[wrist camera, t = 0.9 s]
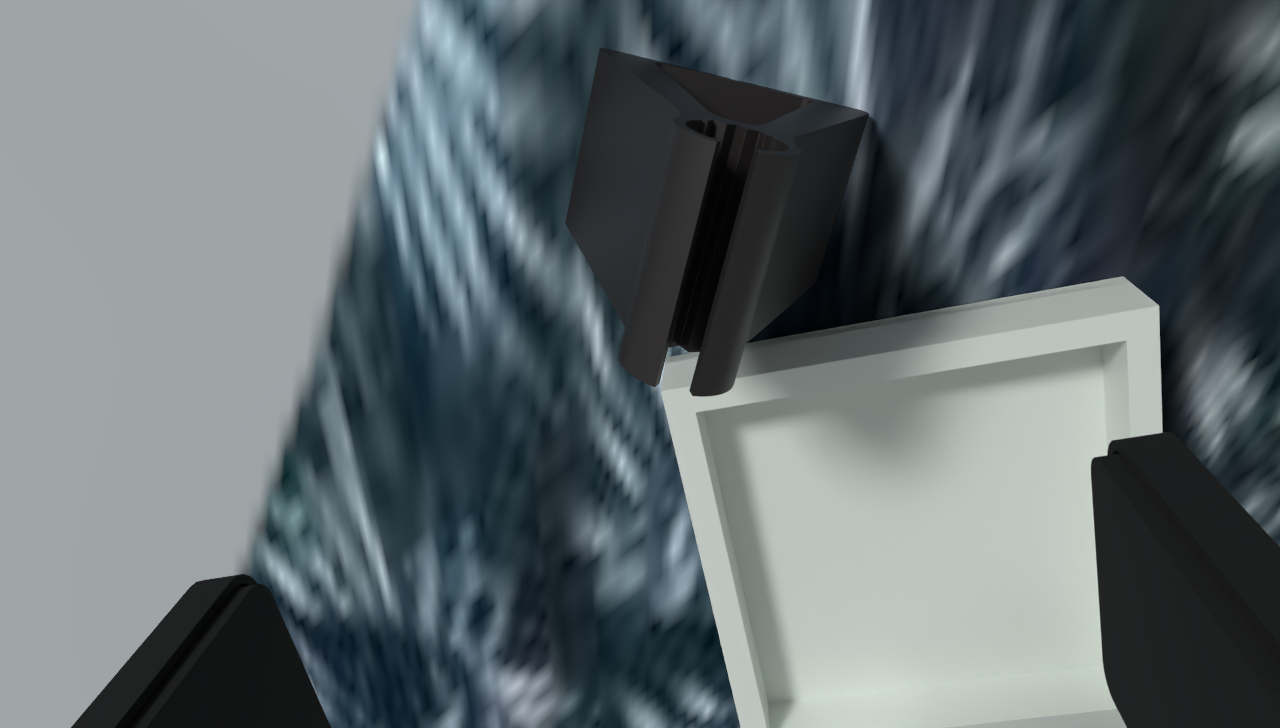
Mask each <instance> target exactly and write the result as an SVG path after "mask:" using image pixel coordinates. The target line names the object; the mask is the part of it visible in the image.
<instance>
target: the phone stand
mask: <svg viewBox="0 0 1280 728" xmlns="http://www.w3.org/2000/svg"><path fill="white" fill-rule="evenodd" d="M868 115H869V113H867V112H865V111H862V110H858V109H854V108H850V107H846V106H841V105H837V104H833V103H829V102H825V101H821V100H817V99H813V98H808V97H804V96H800V95H796V94H792V93H788V92H784V91H779V90H775V89H771V88H767V87H763V86H759V85H755V84H751V83H746V82H742V81H735V80H732V79H729V78H726V77H722V76H718V75H713V74H709V73H705V72H701V71H697V70H693V69H689V68H684V67H680V66H676V65H672V64H668V63H664V62H660V61H656V60H651V59H647V58H643V57H639V56H635V55H631V54H627V53H623V52H618V51H614V50H610V49H605V48H600V50H599V55H598V60H597V65H596V70H595V75H594V81H593V86H592V91H591V96H590V101H589V106H588V111H587V116H586V121H585V126H584V132H583V137H582V142H581V147H580V152H579V157H578V162H577V167H576V172H575V177H574V183H573V188H572V193H571V198H570V203H569V208H568V213H567V218H566V225H567V227H568V229H569V230H570V232H571V234H572V236H573V237H574V239H575V241H576V243H577V244H578V246H579V248H580V250H581V251H582V253H583V255H584V256H585V258H586V260H587V262H588V263H589V265H590V267H591V269H592V270H593V272H594V274H595V276H596V277H597V279H598V281H599V282H600V284H601V286H602V288H603V289H604V291H605V293H606V295H607V296H608V298H609V300H610V302H611V303H612V305H613V307H614V308H615V310H616V312H617V314H618V315H619V317H620V319H621V321H622V322H623V324H624V326H625V330H624V334H623V339H622V343H621V347H620V352H619V361H620V363H621V365H622V366H623V367H624V369H625V370H626V371H628V372H629V373H630V374H631V375H633V376H634V377H636V378H637V379H639V380H641V381H642V382H644V383H646V384H649V385H651V386H653V387H656V386H657V385H658V384H659V382H660V378H661V374H662V370H663V366H664V362H665V358H666V355H667V351H668V347H674V346H678V345H679V346H681V347H682V348H684V349H685V350H686V351H688V352H700V353H699V357H698V360H697V364H696V368H695V371H694V375H693V379H692V383H691V386H690V390H689V391H690V393H691V394H692V396H699V397H707V396H716V395H720V394H724V393H726V392H728V391H729V390H731V389H732V387H733V385H734V382H735V379H736V375H737V372H738V368H739V365H740V362H741V358H742V355H743V351H744V348H745V344H746V343H747V342H749V341H750V340H751V339H752V338H753V337H754V336H756V335H757V334H758V333H759V332H760V331H761V330H762V329H764V328H765V327H766V326H767V325H768V324H769V323H771V322H772V321H773V320H774V319H775V318H776V317H778V316H779V315H780V314H781V313H782V312H783V311H785V310H786V309H787V308H788V307H789V306H790V305H792V304H793V303H794V302H795V301H796V300H797V299H799V298H800V297H801V296H802V295H803V294H804V293H806V292H807V291H808V290H809V289H810V288H811V287H813V286H814V285H815V284H816V281H817V278H818V275H819V272H820V269H821V265H822V262H823V259H824V256H825V253H826V249H827V246H828V243H829V240H830V237H831V233H832V230H833V227H834V224H835V221H836V217H837V214H838V211H839V208H840V205H841V201H842V198H843V195H844V192H845V189H846V185H847V182H848V179H849V176H850V173H851V169H852V166H853V163H854V160H855V157H856V153H857V150H858V147H859V144H860V141H861V137H862V134H863V131H864V128H865V125H866V121H867V118H868Z"/></svg>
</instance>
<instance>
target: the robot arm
mask: <svg viewBox="0 0 1280 728" xmlns="http://www.w3.org/2000/svg"><path fill="white" fill-rule="evenodd" d="M1091 484H1092V500H1093V516H1094V531H1095V547H1096V563H1097V579H1098V595H1099V611H1100V626H1101V642H1102V658H1103V668H1104V674H1105V678H1106V682H1107V686H1108V689H1109V692H1110V694H1111V697H1112V699H1113V701H1114V704H1115V706H1116V708H1117V709H1118V711H1119V713H1120V715H1121V717H1122V719H1123V721H1124V723H1125V725H1126V727H1127V728H1280V547H1279V546H1278V545H1277V544H1276V543H1275V542H1274V541H1273V539H1272V538H1271V537H1270V536H1269V535H1268V534H1267V533H1266V532H1265V531H1264V530H1263V529H1262V528H1261V527H1260V525H1259V524H1258V523H1257V522H1256V521H1255V520H1254V519H1253V518H1252V517H1251V516H1250V515H1249V514H1248V513H1247V511H1246V510H1245V509H1244V508H1243V507H1242V506H1241V505H1240V504H1239V503H1238V502H1237V501H1236V500H1235V498H1234V497H1233V496H1232V495H1231V494H1230V493H1229V492H1228V491H1227V490H1226V489H1225V488H1224V487H1223V486H1222V484H1221V483H1220V482H1219V481H1218V480H1217V479H1216V478H1215V477H1214V476H1213V475H1212V474H1211V473H1210V472H1209V470H1208V469H1207V468H1206V467H1205V466H1204V465H1203V464H1202V463H1201V462H1200V461H1199V460H1198V459H1197V457H1196V456H1195V455H1194V454H1193V453H1192V452H1191V451H1190V450H1189V449H1188V448H1187V447H1186V446H1185V445H1184V443H1183V442H1182V441H1181V440H1180V439H1179V438H1178V437H1177V436H1176V435H1174V434H1173V433H1172V432H1164V433H1157V434H1151V435H1144V436H1138V437H1131V438H1125V439H1118V440H1112V441H1111V442H1110V444H1109V447H1108V451H1107V456H1100V457H1094V458H1093V459H1092V462H1091ZM71 728H331V727H330V725H329V722H328V720H327V718H326V716H325V713H324V711H323V709H322V707H321V704H320V702H319V700H318V697H317V695H316V693H315V691H314V688H313V686H312V684H311V682H310V679H309V677H308V675H307V673H306V670H305V668H304V666H303V663H302V661H301V659H300V657H299V654H298V652H297V650H296V648H295V645H294V643H293V641H292V639H291V636H290V634H289V632H288V630H287V627H286V625H285V623H284V620H283V618H282V616H281V614H280V611H279V609H278V607H277V605H276V602H275V600H274V598H273V596H272V594H271V592H270V590H269V589H268V588H267V587H266V586H265V585H262V584H257V583H256V581H255V580H254V579H253V578H251V577H250V576H248V575H244V574H241V575H235V576H229V577H222V578H215V579H209V580H203V581H199V582H196V583H195V584H193V585H192V586H191V587H190V588H189V589H188V590H187V592H186V593H185V594H184V595H183V596H182V597H181V599H180V600H179V601H178V602H177V604H175V606H174V607H173V608H172V609H171V611H170V612H169V613H168V614H167V615H166V616H165V617H164V619H163V620H162V621H161V622H160V623H159V625H158V626H157V627H156V628H155V629H154V630H153V632H152V633H151V634H150V635H149V636H148V637H147V639H146V640H145V641H144V642H143V644H142V645H141V646H140V647H139V648H138V649H137V650H136V652H135V653H134V654H133V655H132V656H131V658H130V659H129V660H128V661H127V662H126V664H125V665H124V666H123V667H122V668H121V669H120V670H119V672H118V673H117V674H116V675H115V676H114V678H113V679H112V680H111V681H110V682H109V683H108V685H107V686H106V687H105V688H104V689H103V690H102V692H101V693H100V694H99V695H98V696H97V698H96V699H95V700H94V701H93V702H92V704H91V705H90V706H89V707H88V708H87V709H86V711H85V712H84V713H83V714H82V715H81V716H80V718H79V719H78V720H77V721H76V722H75V724H74V725H73V726H72V727H71Z"/></svg>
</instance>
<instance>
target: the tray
mask: <svg viewBox="0 0 1280 728" xmlns="http://www.w3.org/2000/svg"><path fill="white" fill-rule="evenodd" d="M699 353H700V352H694V353H688V354H683V355H677V356H672V357H666V361H665V368H664V374H663V381H662V387H661V394H662V398H663V402H664V406H665V411H666V415H667V419H668V423H669V427H670V432H671V436H672V440H673V444H674V448H675V453H676V457H677V461H678V465H679V470H680V474H681V478H682V482H683V486H684V491H685V495H686V499H687V503H688V507H689V512H690V516H691V520H692V524H693V528H694V533H695V537H696V541H697V545H698V549H699V554H700V558H701V562H702V566H703V570H704V575H705V579H706V583H707V587H708V592H709V596H710V600H711V604H712V608H713V613H714V617H715V621H716V625H717V629H718V634H719V638H720V642H721V646H722V650H723V655H724V659H725V663H726V667H727V671H728V676H729V680H730V684H731V688H732V693H733V697H734V701H735V705H736V709H737V714H738V718H739V722H740V726H741V728H1127V727H1126V725H1125V723H1124V721H1123V719H1122V717H1121V715H1120V713H1119V711H1118V709H1117V708H1116V706H1115V704H1114V701H1113V699H1112V697H1111V694H1110V692H1109V689H1108V686H1107V682H1106V678H1105V674H1104V668H1103V658H1102V642H1101V626H1100V611H1099V595H1098V579H1097V563H1096V547H1095V531H1094V516H1093V500H1092V484H1091V462H1092V459H1093V458H1094V457H1100V456H1107V451H1108V447H1109V444H1110V442H1111V441H1112V440H1118V439H1125V438H1131V437H1138V436H1144V435H1151V434H1157V433H1163V430H1162V394H1161V359H1160V323H1159V305H1158V304H1156V303H1155V302H1154V301H1153V300H1151V299H1150V298H1149V297H1148V296H1147V295H1145V294H1144V293H1143V292H1142V291H1140V290H1139V289H1138V288H1137V287H1136V286H1134V285H1133V284H1132V283H1131V282H1129V281H1128V280H1127V279H1126V278H1125V277H1117V278H1112V279H1106V280H1100V281H1095V282H1089V283H1083V284H1078V285H1072V286H1066V287H1061V288H1055V289H1050V290H1044V291H1038V292H1033V293H1027V294H1021V295H1016V296H1010V297H1004V298H999V299H993V300H987V301H982V302H976V303H971V304H965V305H959V306H954V307H948V308H942V309H937V310H931V311H925V312H920V313H914V314H908V315H903V316H897V317H892V318H886V319H880V320H875V321H869V322H863V323H858V324H852V325H846V326H841V327H835V328H829V329H824V330H818V331H813V332H807V333H801V334H796V335H790V336H784V337H779V338H773V339H767V340H762V341H756V342H751V343H746V344H745V348H744V351H743V355H742V358H741V362H740V365H739V368H738V372H737V375H736V379H735V382H734V385H733V387H732V389H731V390H729V391H728V392H726V393H724V394H720V395H716V396H707V397H699V396H692V394H691V393H690V391H689V390H690V386H691V383H692V379H693V375H694V371H695V368H696V364H697V360H698V357H699Z"/></svg>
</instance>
